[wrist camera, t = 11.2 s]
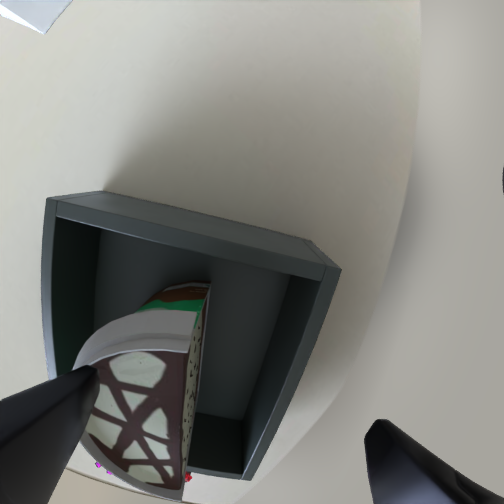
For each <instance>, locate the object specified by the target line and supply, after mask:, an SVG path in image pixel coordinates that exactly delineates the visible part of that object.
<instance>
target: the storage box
mask: <svg viewBox="0 0 504 504" xmlns="http://www.w3.org/2000/svg"><path fill="white" fill-rule="evenodd" d="M341 271H342V269H341V268H340V267H339V266H338V265H336V264H335V263H334V262H333V261H332V260H331V259H330V258H329V257H328V256H327V255H326V254H325V253H323V252H322V251H321V250H320V249H319V248H318V247H317V246H316V245H315V244H314V243H313V242H312V241H310V240H307V239H303V238H299V237H295V236H291V235H287V234H284V233H280V232H276V231H272V230H268V229H264V228H260V227H256V226H252V225H248V224H244V223H240V222H236V221H232V220H228V219H224V218H220V217H215V216H211V215H207V214H203V213H199V212H194V211H190V210H186V209H182V208H177V207H173V206H169V205H164V204H160V203H156V202H151V201H147V200H142V199H138V198H134V197H129V196H124V195H120V194H115V193H111V192H106V191H93V192H85V193H77V194H70V195H62V196H55V197H49V198H47V199H46V206H45V215H44V225H43V238H42V258H41V303H42V323H43V336H44V346H45V355H46V363H47V370H48V376H49V380H51V379H53V378H56V377H58V376H60V375H63V374H65V373H67V372H70V371H72V369H73V367H74V364H75V361H76V359H77V356H78V354H79V352H80V350H81V349H82V347H83V345H84V344H85V342H86V341H87V340H88V339H89V338H90V337H91V336H92V335H93V334H94V333H95V332H96V331H97V330H99V329H100V328H102V327H103V326H105V325H107V324H108V323H110V322H111V321H114V320H117V319H119V318H122V317H125V316H127V315H131V314H134V313H135V312H136V311H137V310H138V309H139V308H140V307H141V306H142V305H143V304H144V303H145V302H147V301H148V300H149V299H150V298H151V297H152V296H153V295H154V294H155V293H157V292H159V291H161V290H162V289H164V288H166V287H168V286H169V285H171V284H175V283H180V282H185V281H190V280H203V281H212V282H211V289H210V297H209V305H208V313H207V321H206V330H205V338H204V347H203V356H202V366H201V375H200V385H199V393H198V399H197V405H196V411H195V417H194V423H193V429H192V435H191V442H190V448H189V454H188V461H187V468H186V471H189V472H194V473H199V474H204V475H210V476H216V477H223V478H230V479H238V480H240V479H241V480H248V481H251V480H252V478H253V476H254V474H255V473H256V471H257V469H258V467H259V465H260V463H261V461H262V459H263V457H264V455H265V454H266V452H267V450H268V448H269V446H270V444H271V442H272V440H273V438H274V436H275V434H276V432H277V429H278V427H279V425H280V423H281V421H282V419H283V417H284V415H285V413H286V410H287V408H288V406H289V404H290V402H291V400H292V397H293V395H294V393H295V391H296V388H297V386H298V384H299V381H300V379H301V377H302V374H303V372H304V370H305V367H306V365H307V362H308V360H309V358H310V355H311V353H312V350H313V348H314V345H315V343H316V340H317V338H318V335H319V332H320V330H321V327H322V325H323V322H324V319H325V317H326V314H327V311H328V308H329V306H330V303H331V300H332V297H333V294H334V291H335V289H336V286H337V283H338V280H339V277H340V274H341Z"/></svg>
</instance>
